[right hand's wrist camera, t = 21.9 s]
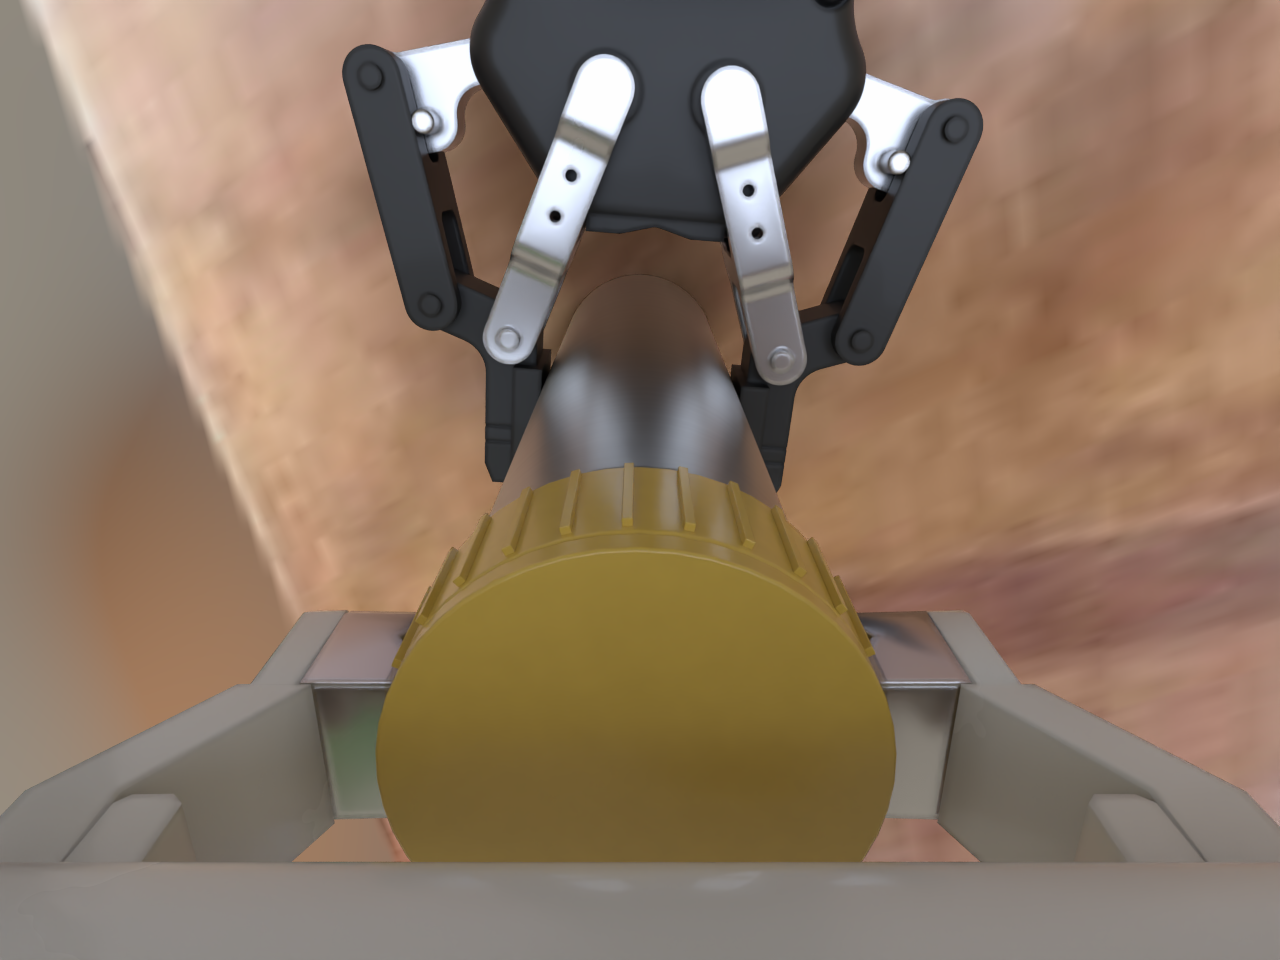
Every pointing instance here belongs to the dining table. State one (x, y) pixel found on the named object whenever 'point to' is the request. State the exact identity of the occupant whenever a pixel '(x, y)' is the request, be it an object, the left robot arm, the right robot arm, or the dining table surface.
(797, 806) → the lid
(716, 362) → the silver canister
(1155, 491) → the dining table surface
